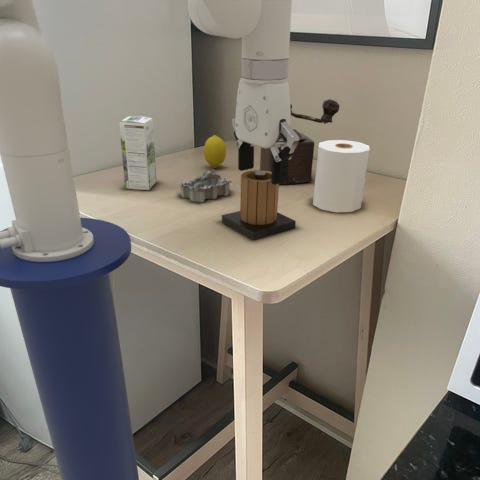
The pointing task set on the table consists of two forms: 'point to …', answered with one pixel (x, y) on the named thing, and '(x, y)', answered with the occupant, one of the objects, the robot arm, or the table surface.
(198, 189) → the metal cookie cutter
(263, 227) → the stand
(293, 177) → the manual coffee grinder
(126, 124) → the syrup box
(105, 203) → the table surface
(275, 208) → the wooden bucket
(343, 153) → the toilet paper
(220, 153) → the lemon
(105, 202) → the table surface
